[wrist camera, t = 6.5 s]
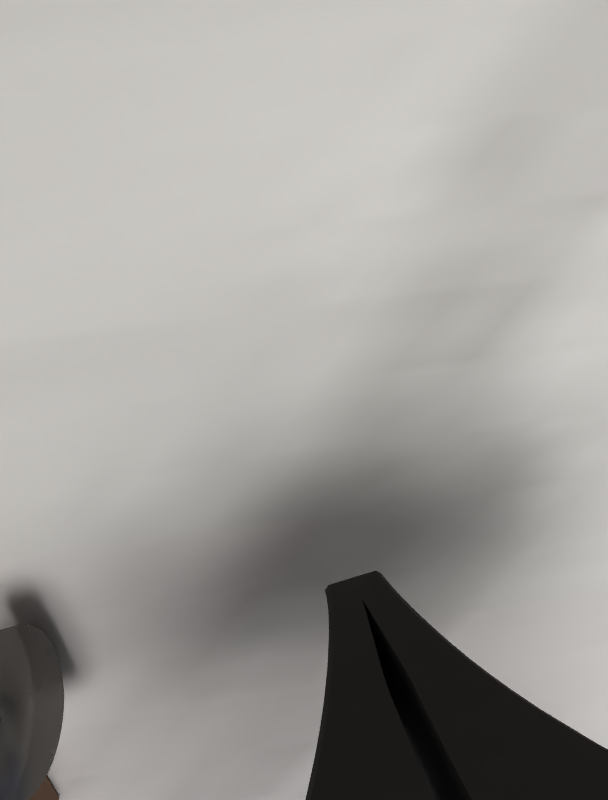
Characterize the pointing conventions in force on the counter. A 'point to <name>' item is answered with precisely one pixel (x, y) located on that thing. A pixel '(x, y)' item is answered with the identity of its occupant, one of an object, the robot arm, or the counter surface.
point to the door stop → (28, 710)
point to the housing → (45, 792)
